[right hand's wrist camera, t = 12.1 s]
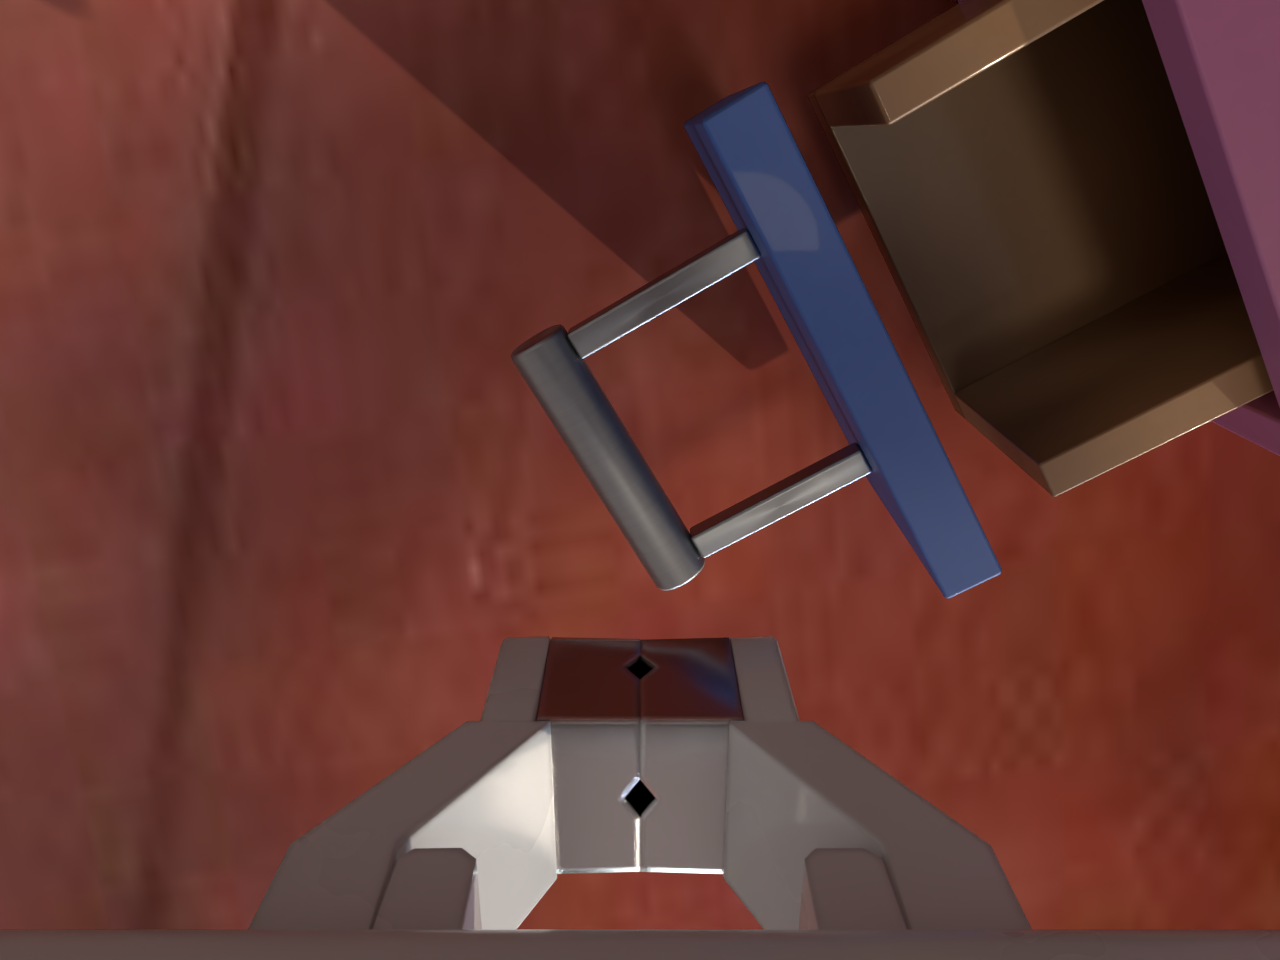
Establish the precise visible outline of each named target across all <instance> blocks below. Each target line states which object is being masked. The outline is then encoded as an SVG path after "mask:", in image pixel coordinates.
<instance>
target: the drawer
mask: <svg viewBox="0 0 1280 960" xmlns="http://www.w3.org/2000/svg"><path fill="white" fill-rule="evenodd" d="M808 98H809V100H810V102H811V104H812V106H813V109H814V111H815V113H816V115H817V117H818V119H819V121H820V123H821V126H822V128H823V130H824V132H825V134H826V136H827V138H828V141H829V143H830V145H831V147H832V149H833V151H834V153H835V155H836V158H837V160H838V162H839V164H840V166H841V168H842V170H843V172H844V175H845V177H846V179H847V181H848V183H849V185H850V187H851V189H852V192H853V194H854V196H855V198H856V200H857V202H858V204H859V206H860V209H861V211H862V213H863V215H864V217H865V219H866V221H867V223H868V226H869V228H870V230H871V232H872V234H873V236H874V238H875V240H876V243H877V245H878V247H879V249H880V251H881V253H882V255H883V257H884V260H885V262H886V264H887V266H888V268H889V270H890V272H891V274H892V277H893V279H894V281H895V283H896V285H897V287H898V289H899V291H900V294H901V296H902V298H903V300H904V302H905V304H906V306H907V308H908V311H909V313H910V315H911V317H912V319H913V321H914V323H915V325H916V328H917V330H918V332H919V334H920V336H921V338H922V340H923V342H924V345H925V347H926V349H927V351H928V353H929V355H930V357H931V359H932V362H933V364H934V366H935V368H936V370H937V372H938V374H939V376H940V379H941V381H942V383H943V385H944V387H945V389H946V391H947V393H948V396H949V398H950V400H951V402H952V404H953V406H954V408H955V410H956V411H957V412H958V413H959V414H960V415H961V416H963V417H964V418H965V419H966V420H967V421H968V422H969V423H970V424H972V425H973V426H974V427H975V428H976V429H977V430H978V431H980V432H981V433H982V434H983V435H984V436H985V437H986V438H987V439H989V440H990V441H991V442H992V443H993V444H994V445H995V446H997V447H998V448H999V449H1000V450H1001V451H1002V452H1003V453H1004V454H1006V455H1007V456H1008V457H1009V458H1010V459H1011V460H1012V461H1013V462H1015V463H1016V464H1017V465H1018V466H1019V467H1020V468H1021V469H1023V470H1024V471H1025V472H1026V473H1027V474H1028V475H1029V476H1030V477H1032V478H1033V479H1034V480H1035V481H1036V482H1037V483H1038V484H1040V485H1041V486H1042V487H1043V488H1044V489H1045V490H1046V491H1047V492H1049V493H1050V494H1051V495H1052V496H1053V497H1055V496H1058V495H1060V494H1062V493H1064V492H1066V491H1068V490H1070V489H1072V488H1074V487H1076V486H1078V485H1080V484H1082V483H1084V482H1086V481H1089V480H1091V479H1093V478H1095V477H1097V476H1099V475H1101V474H1103V473H1105V472H1107V471H1109V470H1111V469H1113V468H1115V467H1117V466H1119V465H1121V464H1123V463H1125V462H1127V461H1129V460H1132V459H1134V458H1136V457H1138V456H1140V455H1142V454H1144V453H1146V452H1148V451H1150V450H1152V449H1154V448H1156V447H1158V446H1160V445H1162V444H1164V443H1166V442H1168V441H1170V440H1173V439H1175V438H1177V437H1179V436H1181V435H1183V434H1185V433H1187V432H1189V431H1191V430H1193V429H1195V428H1197V427H1199V426H1201V425H1203V424H1205V423H1207V422H1209V421H1211V420H1214V419H1216V418H1218V417H1220V416H1222V415H1224V414H1226V413H1228V412H1230V411H1232V410H1234V409H1236V408H1238V407H1240V406H1242V405H1244V404H1246V403H1248V402H1250V401H1252V400H1255V399H1257V398H1259V397H1261V396H1263V395H1265V394H1267V393H1269V392H1271V391H1273V387H1272V384H1271V381H1270V378H1269V375H1268V372H1267V369H1266V366H1265V363H1264V360H1263V357H1262V354H1261V351H1260V348H1259V345H1258V342H1257V339H1256V336H1255V333H1254V330H1253V328H1252V325H1251V322H1250V319H1249V316H1248V313H1247V310H1246V307H1245V304H1244V301H1243V298H1242V295H1241V292H1240V289H1239V286H1238V283H1237V280H1236V277H1235V274H1234V271H1233V268H1232V265H1231V262H1230V259H1229V257H1228V254H1227V251H1226V248H1225V245H1224V242H1223V239H1222V236H1221V233H1220V230H1219V227H1218V224H1217V221H1216V218H1215V215H1214V212H1213V209H1212V206H1211V203H1210V200H1209V197H1208V194H1207V191H1206V188H1205V186H1204V183H1203V180H1202V177H1201V174H1200V171H1199V168H1198V165H1197V162H1196V159H1195V156H1194V153H1193V150H1192V147H1191V144H1190V141H1189V138H1188V135H1187V132H1186V129H1185V126H1184V123H1183V120H1182V117H1181V115H1180V112H1179V109H1178V106H1177V103H1176V100H1175V97H1174V94H1173V91H1172V88H1171V85H1170V82H1169V79H1168V76H1167V73H1166V70H1165V67H1164V64H1163V61H1162V58H1161V55H1160V52H1159V49H1158V46H1157V44H1156V41H1155V38H1154V35H1153V32H1152V29H1151V26H1150V23H1149V20H1148V17H1147V14H1146V11H1145V8H1144V5H1143V2H1142V0H964V1H962V2H961V3H959V4H957V5H956V6H954V7H952V8H951V9H949V10H947V11H946V12H944V13H942V14H941V15H939V16H937V17H936V18H934V19H932V20H931V21H929V22H927V23H926V24H924V25H922V26H921V27H919V28H917V29H916V30H914V31H912V32H911V33H909V34H907V35H906V36H904V37H902V38H901V39H899V40H897V41H896V42H894V43H893V44H891V45H889V46H888V47H886V48H884V49H883V50H881V51H879V52H878V53H876V54H874V55H873V56H871V57H869V58H868V59H866V60H864V61H863V62H861V63H859V64H858V65H856V66H854V67H853V68H851V69H849V70H848V71H846V72H844V73H843V74H841V75H839V76H838V77H836V78H834V79H833V80H831V81H829V82H828V83H826V84H824V85H823V86H821V87H819V88H818V89H816V90H814V91H813V92H811V93H809V95H808ZM684 127H685V129H686V131H687V133H688V135H689V137H690V139H691V141H692V143H693V144H694V146H695V148H696V150H697V152H698V154H699V156H700V158H701V160H702V162H703V164H704V166H705V167H706V169H707V171H708V173H709V175H710V177H711V179H712V181H713V183H714V185H715V187H716V189H717V191H718V192H719V194H720V196H721V198H722V200H723V202H724V204H725V206H726V208H727V210H728V212H729V214H730V216H731V217H732V219H733V221H734V223H735V225H736V227H737V229H738V231H737V232H735V233H734V234H732V235H730V236H728V237H727V238H725V239H723V240H722V241H720V242H718V243H716V244H715V245H713V246H711V247H709V248H708V249H706V250H704V251H703V252H701V253H699V254H697V255H696V256H694V257H692V258H691V259H689V260H687V261H685V262H684V263H682V264H680V265H678V266H677V267H675V268H673V269H672V270H670V271H668V272H666V273H665V274H663V275H661V276H660V277H658V278H656V279H654V280H653V281H651V282H649V283H648V284H646V285H644V286H642V287H641V288H639V289H637V290H635V291H634V292H632V293H630V294H629V295H627V296H625V297H623V298H622V299H620V300H618V301H617V302H615V303H613V304H611V305H610V306H608V307H606V308H605V309H603V310H601V311H599V312H598V313H596V314H594V315H592V316H591V317H589V318H587V319H586V320H584V321H582V322H580V323H579V324H577V325H575V326H574V327H572V328H570V330H569V332H568V333H567V331H566V330H565V328H564V327H563V326H562V325H555V326H552V327H550V328H548V329H546V330H544V331H542V332H540V333H538V334H537V335H535V336H533V337H532V338H530V339H529V340H527V341H526V342H524V343H523V344H521V345H520V346H519V347H518V348H516V349H515V350H514V352H513V353H512V354H511V358H512V360H513V362H514V364H515V365H516V367H517V368H518V370H519V371H520V373H521V375H522V376H523V378H524V379H525V381H526V382H527V384H528V386H529V387H530V389H531V390H532V392H533V393H534V395H535V397H536V398H537V400H538V401H539V403H540V404H541V406H542V408H543V409H544V411H545V412H546V414H547V415H548V417H549V418H550V420H551V422H552V423H553V425H554V426H555V428H556V429H557V431H558V433H559V434H560V436H561V437H562V439H563V440H564V442H565V444H566V445H567V447H568V448H569V450H570V451H571V453H572V455H573V456H574V458H575V459H576V461H577V462H578V464H579V466H580V467H581V469H582V470H583V472H584V473H585V475H586V476H587V478H588V480H589V481H590V483H591V484H592V486H593V487H594V489H595V491H596V492H597V494H598V495H599V497H600V498H601V500H602V502H603V503H604V505H605V506H606V508H607V509H608V511H609V513H610V514H611V516H612V517H613V519H614V520H615V522H616V524H617V525H618V527H619V528H620V530H621V531H622V533H623V534H624V536H625V538H626V539H627V541H628V542H629V544H630V545H631V547H632V549H633V550H634V552H635V553H636V555H637V556H638V558H639V560H640V561H641V563H642V564H643V566H644V567H645V569H646V571H647V572H648V574H649V575H650V577H651V578H652V580H653V582H654V583H655V585H656V586H657V587H658V588H660V589H661V590H672V589H676V588H678V587H680V586H683V585H684V584H686V583H688V582H689V581H691V580H692V579H693V578H695V577H696V576H697V575H698V574H699V573H700V571H701V570H702V569H703V567H704V564H705V560H704V558H706V557H708V556H710V555H712V554H714V553H716V552H718V551H720V550H722V549H724V548H725V547H727V546H729V545H731V544H733V543H735V542H737V541H739V540H741V539H743V538H745V537H747V536H749V535H751V534H753V533H755V532H757V531H759V530H761V529H763V528H765V527H766V526H768V525H770V524H772V523H774V522H776V521H778V520H780V519H782V518H784V517H786V516H788V515H790V514H792V513H794V512H796V511H798V510H800V509H802V508H804V507H805V506H807V505H809V504H811V503H813V502H815V501H817V500H819V499H821V498H823V497H825V496H827V495H829V494H831V493H833V492H835V491H837V490H839V489H841V488H843V487H845V486H846V485H848V484H850V483H852V482H854V481H856V480H858V479H860V478H862V477H864V476H866V477H867V479H868V481H869V482H870V484H871V485H872V487H873V488H874V490H875V491H876V493H877V494H878V496H879V498H880V499H881V501H882V502H883V504H884V505H885V507H886V508H887V510H888V511H889V513H890V514H891V516H892V517H893V519H894V520H895V522H896V524H897V525H898V527H899V528H900V530H901V531H902V533H903V534H904V536H905V537H906V539H907V540H908V542H909V543H910V545H911V546H912V548H913V550H914V551H915V553H916V554H917V556H918V557H919V559H920V560H921V562H922V563H923V565H924V566H925V568H926V569H927V571H928V572H929V574H930V576H931V577H932V579H933V580H934V582H935V583H936V585H937V586H938V588H939V589H940V591H941V592H942V594H943V595H944V597H946V598H951V597H953V596H955V595H958V594H960V593H962V592H964V591H966V590H968V589H970V588H972V587H974V586H976V585H978V584H981V583H983V582H985V581H987V580H989V579H991V578H993V577H995V576H997V575H999V574H1001V567H1000V565H999V563H998V561H997V559H996V557H995V554H994V552H993V550H992V548H991V546H990V544H989V542H988V540H987V538H986V536H985V534H984V532H983V530H982V528H981V525H980V523H979V521H978V519H977V517H976V515H975V513H974V511H973V509H972V507H971V505H970V503H969V501H968V499H967V496H966V494H965V492H964V490H963V488H962V486H961V484H960V482H959V480H958V478H957V476H956V474H955V472H954V470H953V467H952V465H951V463H950V461H949V459H948V457H947V455H946V453H945V451H944V449H943V447H942V445H941V443H940V441H939V438H938V436H937V434H936V432H935V430H934V428H933V426H932V424H931V422H930V420H929V418H928V416H927V414H926V412H925V409H924V407H923V405H922V403H921V401H920V399H919V397H918V395H917V393H916V391H915V389H914V387H913V385H912V383H911V380H910V378H909V376H908V374H907V372H906V370H905V368H904V366H903V364H902V362H901V360H900V358H899V356H898V354H897V352H896V349H895V347H894V345H893V343H892V341H891V339H890V337H889V335H888V333H887V331H886V329H885V327H884V325H883V323H882V320H881V318H880V316H879V314H878V312H877V310H876V308H875V306H874V304H873V302H872V300H871V298H870V296H869V294H868V291H867V289H866V287H865V285H864V283H863V281H862V279H861V277H860V275H859V273H858V271H857V269H856V267H855V265H854V262H853V260H852V258H851V256H850V254H849V252H848V250H847V248H846V246H845V244H844V242H843V240H842V238H841V236H840V233H839V231H838V229H837V227H836V225H835V223H834V221H833V219H832V217H831V215H830V213H829V211H828V209H827V207H826V204H825V202H824V200H823V198H822V196H821V194H820V192H819V190H818V188H817V186H816V184H815V182H814V180H813V178H812V175H811V173H810V171H809V169H808V167H807V165H806V163H805V161H804V159H803V157H802V155H801V153H800V151H799V149H798V146H797V144H796V142H795V140H794V138H793V136H792V134H791V132H790V130H789V128H788V126H787V124H786V122H785V120H784V117H783V115H782V113H781V111H780V109H779V107H778V105H777V103H776V101H775V99H774V97H773V95H772V93H771V91H770V88H769V86H768V85H767V84H766V83H765V82H761V83H758V84H756V85H754V86H751V87H749V88H746V89H744V90H742V91H739V92H737V93H734V94H732V95H730V96H727V97H725V98H724V99H722V100H720V101H719V102H717V103H716V104H714V105H712V106H711V107H709V108H707V109H706V110H704V111H702V112H701V113H699V114H698V115H696V116H694V117H693V118H691V119H689V120H688V121H686V122H685V124H684ZM752 262H755V264H756V265H757V267H758V269H759V271H760V273H761V275H762V277H763V279H764V281H765V283H766V285H767V287H768V288H769V290H770V292H771V294H772V296H773V298H774V300H775V302H776V304H777V306H778V308H779V310H780V312H781V313H782V315H783V317H784V319H785V321H786V323H787V325H788V327H789V329H790V331H791V333H792V335H793V336H794V338H795V340H796V342H797V344H798V346H799V348H800V350H801V352H802V354H803V356H804V358H805V360H806V361H807V363H808V365H809V367H810V369H811V371H812V373H813V375H814V377H815V379H816V381H817V383H818V385H819V386H820V388H821V390H822V392H823V394H824V396H825V398H826V400H827V402H828V404H829V406H830V408H831V409H832V411H833V413H834V415H835V417H836V419H837V421H838V423H839V425H840V427H841V429H842V431H843V433H844V434H845V436H846V438H847V440H848V442H849V444H850V445H848V446H847V447H845V448H843V449H841V450H839V451H837V452H835V453H833V454H831V455H829V456H827V457H825V458H824V459H822V460H820V461H818V462H816V463H814V464H812V465H810V466H808V467H806V468H804V469H802V470H800V471H799V472H797V473H795V474H793V475H791V476H789V477H787V478H785V479H783V480H781V481H779V482H777V483H776V484H774V485H772V486H770V487H768V488H766V489H764V490H762V491H760V492H758V493H756V494H754V495H752V496H751V497H749V498H747V499H745V500H743V501H741V502H739V503H737V504H735V505H733V506H731V507H729V508H728V509H726V510H724V511H722V512H720V513H718V514H716V515H714V516H712V517H710V518H708V519H706V520H704V521H703V522H701V523H699V524H697V525H695V526H693V527H691V528H690V533H689V531H688V530H687V528H686V527H685V525H684V523H683V522H682V520H681V518H680V517H679V515H678V513H677V512H676V510H675V508H674V507H673V505H672V504H671V502H670V500H669V499H668V497H667V495H666V494H665V492H664V490H663V489H662V487H661V485H660V484H659V482H658V481H657V479H656V477H655V476H654V474H653V472H652V471H651V469H650V467H649V466H648V464H647V462H646V461H645V459H644V458H643V456H642V454H641V453H640V451H639V449H638V448H637V446H636V444H635V443H634V441H633V440H632V438H631V436H630V435H629V433H628V431H627V430H626V428H625V426H624V425H623V423H622V421H621V420H620V418H619V417H618V415H617V413H616V412H615V410H614V408H613V407H612V405H611V403H610V402H609V400H608V398H607V397H606V395H605V394H604V392H603V390H602V389H601V387H600V385H599V384H598V382H597V380H596V379H595V377H594V376H593V374H592V372H591V371H590V369H589V367H588V366H587V364H586V362H585V361H584V359H585V358H586V357H588V356H590V355H592V354H593V353H595V352H597V351H599V350H600V349H602V348H604V347H606V346H607V345H609V344H611V343H613V342H614V341H616V340H618V339H620V338H621V337H623V336H625V335H627V334H628V333H630V332H632V331H634V330H635V329H637V328H639V327H641V326H642V325H644V324H646V323H648V322H649V321H651V320H653V319H654V318H656V317H658V316H660V315H661V314H663V313H665V312H667V311H668V310H670V309H672V308H674V307H675V306H677V305H679V304H681V303H682V302H684V301H686V300H688V299H689V298H691V297H693V296H695V295H696V294H698V293H700V292H702V291H703V290H705V289H707V288H709V287H710V286H712V285H714V284H716V283H717V282H719V281H721V280H723V279H724V278H726V277H728V276H730V275H731V274H733V273H735V272H737V271H738V270H740V269H742V268H744V267H745V266H747V265H749V264H751V263H752ZM690 534H691V535H690Z"/></svg>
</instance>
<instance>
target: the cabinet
mask: <svg viewBox="0 0 1280 960" xmlns="http://www.w3.org/2000/svg"><path fill="white" fill-rule="evenodd" d="M962 1H964V0H958V3H961V2H962ZM1142 2H1143V5H1144V8H1145V11H1146V14H1147V17H1148V20H1149V23H1150V26H1151V29H1152V32H1153V35H1154V38H1155V41H1156V44H1157V46H1158V49H1159V52H1160V55H1161V58H1162V61H1163V64H1164V67H1165V70H1166V73H1167V76H1168V79H1169V82H1170V85H1171V88H1172V91H1173V94H1174V97H1175V100H1176V103H1177V106H1178V109H1179V112H1180V115H1181V117H1182V120H1183V123H1184V126H1185V129H1186V132H1187V135H1188V138H1189V141H1190V144H1191V147H1192V150H1193V153H1194V156H1195V159H1196V162H1197V165H1198V168H1199V171H1200V174H1201V177H1202V180H1203V183H1204V186H1205V188H1206V191H1207V194H1208V197H1209V200H1210V203H1211V206H1212V209H1213V212H1214V215H1215V218H1216V221H1217V224H1218V227H1219V230H1220V233H1221V236H1222V239H1223V242H1224V245H1225V248H1226V251H1227V254H1228V257H1229V259H1230V262H1231V265H1232V268H1233V271H1234V274H1235V277H1236V280H1237V283H1238V286H1239V289H1240V292H1241V295H1242V298H1243V301H1244V304H1245V307H1246V310H1247V313H1248V316H1249V319H1250V322H1251V325H1252V328H1253V330H1254V333H1255V336H1256V339H1257V342H1258V345H1259V348H1260V351H1261V354H1262V357H1263V360H1264V363H1265V366H1266V369H1267V372H1268V375H1269V378H1270V381H1271V384H1272V387H1273V391H1271V392H1269V393H1267V394H1265V395H1263V396H1261V397H1259V398H1257V399H1255V400H1252V401H1250V402H1248V403H1246V404H1244V405H1242V406H1240V407H1238V408H1236V409H1234V410H1232V411H1230V412H1228V413H1226V414H1224V415H1222V416H1220V417H1218V418H1216V419H1214V420H1211V421H1212V422H1214V423H1216V424H1218V425H1220V426H1222V427H1224V428H1226V429H1228V430H1230V431H1232V432H1234V433H1236V434H1238V435H1240V436H1242V437H1244V438H1246V439H1248V440H1250V441H1252V442H1254V443H1256V444H1258V445H1260V446H1262V447H1264V448H1266V449H1268V450H1269V451H1271V452H1273V453H1275V454H1277V455H1279V456H1280V0H1142Z"/></svg>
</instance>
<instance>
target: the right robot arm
mask: <svg viewBox="0 0 1280 960" xmlns="http://www.w3.org/2000/svg"><path fill="white" fill-rule="evenodd" d="M637 871H640V872H676V873H713V874H723V878H724V879H725V881H726V882H727V883H728V884H729V886H730V887H731V888H732V889H733V891H734V892H735V893H736V894H737V896H738V897H739V898H740V900H741V901H742V902H743V903H744V905H745V906H746V907H747V908H748V910H749V911H750V912H751V913H752V915H753V916H754V917H755V918H756V920H757V921H758V922H759V924H760V925H761V926H762V927H763V929H764V930H516V929H517V928H518V927H519V926H520V924H521V923H522V922H523V920H524V919H525V918H526V917H527V915H528V914H529V913H530V912H531V910H532V909H533V908H534V907H535V905H536V904H537V903H538V902H539V900H540V899H541V898H542V897H543V895H544V894H545V893H546V892H547V890H548V889H549V888H550V887H551V885H552V884H553V883H554V882H555V880H556V879H557V874H567V873H602V872H637ZM0 960H1280V930H1259V929H1126V930H1032V929H1031V927H1030V925H1029V922H1028V920H1027V918H1026V916H1025V914H1024V912H1023V910H1022V908H1021V906H1020V904H1019V902H1018V900H1017V898H1016V896H1015V894H1014V892H1013V890H1012V888H1011V886H1010V884H1009V882H1008V880H1007V878H1006V876H1005V874H1004V872H1003V870H1002V868H1001V865H1000V863H999V861H998V859H997V857H996V855H995V853H994V851H993V849H992V847H991V845H989V844H988V843H986V842H985V841H983V840H982V839H981V838H979V837H978V836H976V835H975V834H973V833H972V832H971V831H969V830H968V829H966V828H965V827H963V826H962V825H961V824H959V823H958V822H956V821H955V820H953V819H952V818H951V817H949V816H948V815H946V814H945V813H943V812H942V811H941V810H939V809H938V808H936V807H935V806H933V805H932V804H931V803H929V802H928V801H926V800H925V799H923V798H922V797H921V796H919V795H918V794H916V793H915V792H913V791H912V790H911V789H909V788H908V787H906V786H905V785H903V784H902V783H901V782H899V781H898V780H896V779H895V778H893V777H892V776H891V775H889V774H888V773H886V772H885V771H883V770H882V769H880V768H879V767H878V766H876V765H875V764H873V763H872V762H870V761H869V760H868V759H866V758H865V757H863V756H862V755H860V754H859V753H858V752H856V751H855V750H853V749H852V748H850V747H849V746H848V745H846V744H845V743H843V742H842V741H840V740H839V739H838V738H836V737H835V736H833V735H832V734H830V733H829V732H828V731H826V730H825V729H823V728H822V727H820V726H819V725H818V724H816V723H815V722H813V721H800V720H799V717H798V713H797V709H796V706H795V702H794V699H793V695H792V691H791V688H790V684H789V681H788V677H787V673H786V670H785V666H784V663H783V659H782V655H781V652H780V648H779V645H778V641H777V639H775V638H774V637H773V636H765V637H742V638H693V639H652V640H640V639H616V638H563V637H552V639H550V638H549V637H548V636H547V637H507V638H506V639H505V640H504V641H503V642H502V644H501V647H500V651H499V654H498V658H497V662H496V665H495V669H494V673H493V676H492V680H491V684H490V687H489V691H488V695H487V698H486V702H485V706H484V709H483V713H482V717H481V720H480V721H467V722H465V723H464V724H462V725H461V726H460V727H458V728H457V729H455V730H454V731H452V732H451V733H450V734H448V735H447V736H445V737H444V738H442V739H441V740H439V741H438V742H437V743H435V744H434V745H432V746H431V747H429V748H428V749H427V750H425V751H424V752H422V753H421V754H419V755H418V756H416V757H415V758H414V759H412V760H411V761H409V762H408V763H406V764H405V765H404V766H402V767H401V768H399V769H398V770H396V771H395V772H394V773H392V774H391V775H389V776H388V777H386V778H385V779H383V780H382V781H381V782H379V783H378V784H376V785H375V786H373V787H372V788H371V789H369V790H368V791H366V792H365V793H363V794H362V795H360V796H359V797H358V798H356V799H355V800H353V801H352V802H350V803H349V804H348V805H346V806H345V807H343V808H342V809H340V810H339V811H337V812H336V813H335V814H333V815H332V816H330V817H329V818H327V819H326V820H325V821H323V822H322V823H320V824H319V825H317V826H316V827H314V828H313V829H312V830H310V831H309V832H307V833H306V834H304V835H303V836H302V837H300V838H299V839H297V840H296V841H294V842H293V843H291V844H290V846H289V848H288V850H287V852H286V854H285V856H284V858H283V860H282V862H281V864H280V866H279V868H278V870H277V872H276V874H275V876H274V878H273V880H272V882H271V884H270V886H269V888H268V890H267V892H266V894H265V896H264V898H263V900H262V902H261V904H260V906H259V908H258V910H257V912H256V914H255V916H254V918H253V920H252V923H251V925H250V927H249V929H248V930H0Z"/></svg>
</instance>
